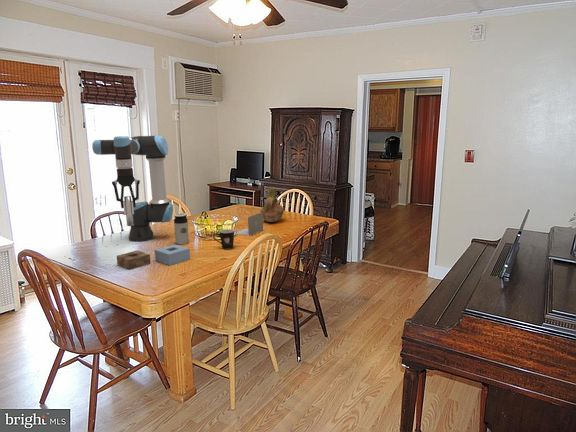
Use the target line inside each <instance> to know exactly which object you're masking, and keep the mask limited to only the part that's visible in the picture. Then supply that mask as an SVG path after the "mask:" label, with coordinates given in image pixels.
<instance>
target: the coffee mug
mask: <svg viewBox="0 0 576 432" xmlns="http://www.w3.org/2000/svg"><path fill="white" fill-rule="evenodd" d="M234 233H235V230H234V229H230V228H228V229H220V230H219V232H218V233H214V234H213V235H212V236H213V237H212V238H213V240H215V241H216V242H218V243H219V244H221V248H222V249H223V250H230V249H234V238H235V234H234ZM216 235H217V236H219V238H220V240H218V239H216V238H215V236H216Z"/></svg>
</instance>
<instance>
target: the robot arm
mask: <svg viewBox="0 0 576 432" xmlns="http://www.w3.org/2000/svg"><path fill="white" fill-rule="evenodd" d="M168 145H169V144H168V143H167V140H166V138H165V137H164V136H162V135H136V136H132V137H131V136H129V135H128V136H126V135H125V136H123V135H121V136H119V135H118V136H114V137H113V139H95V140H94V141H93V142H92V144H91V146H92V152H93V153H94V154H95V155H97V156H98V155H99V156H104V155H105V156H108V155H115V166H116V174H117V175H116V176H117V178H116V179H115V180H113V181H112V182H111V184H112V186H113V189H114V194H115V195H114V196H115V199H116V202H120V208H121V209H123V214H124V216H126V209H125V200H124V195H125V187H128V188H129V192H130V196H131V204H132V214H133V223H134V225H133V226H130V229H129V234H128V240H129V241H131V242H145V241H149V240H153V238H154V237H155V236H154V232H153V230H152V227H151V225H150V224H151V223H163V224H164V223H169V222H170V221H172V218H173V216H174V214H173V213H174V205H173V204H172V203H170V200H169V199H168V198H167V188H166V175H165V163H164V160H165V159H166V156H167V155H168V154H169V146H168ZM132 155H133V156H134V155H135V156H145V160H147V161H148V166H149V176H150V177H149V178H150V185H151V186H150V189H151V200H150V203H149V202H148V201H139V202H136V201H138V200H140V199H139V198H140V196H139V195H140V194H139V193H140V192H139V189H140V188H139V187H140V186H139V185H140V182H141V180H140V179H136V178H135V177H134V168H133V158H132V157H133V156H132ZM118 184H119V185H120V186H121V189H120V190H121V191H120V197H119V191H118V187H117V185H118ZM133 184H135V192H134V191H133V187H132V185H133ZM134 193H135V194H134Z"/></svg>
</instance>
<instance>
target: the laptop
mask: <svg viewBox="0 0 576 432" xmlns="http://www.w3.org/2000/svg"><path fill="white" fill-rule="evenodd" d="M260 212H261V211H260ZM260 212H259V213H255V214H253V215H250V216H248V217H247V227H246V228H244V229H241V230H239V231H236V232H237V233H236V234H235V235H238V236H246V237H249V236H251V235H254V234H257V233H259V232H261V231H263V230H264V219H263V212H261V213H260Z"/></svg>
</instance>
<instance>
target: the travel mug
mask: <svg viewBox="0 0 576 432" xmlns="http://www.w3.org/2000/svg"><path fill="white" fill-rule="evenodd" d="M187 214H188V213H184V212H183V213H182V212H181V213H179V212H178V213H175V214H173V216H174V220H173V224H174V236H175V237H174V239H175V244H176V245H179V246H183V245H187V244H189V243H190V238H189V236H190V235H189V221H188V217H187Z"/></svg>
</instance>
